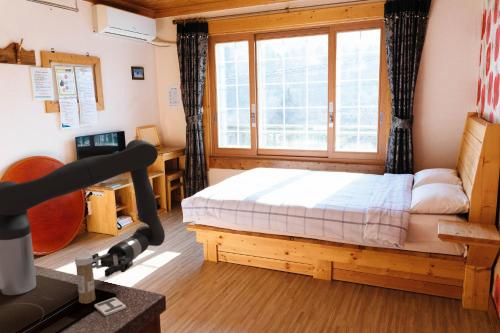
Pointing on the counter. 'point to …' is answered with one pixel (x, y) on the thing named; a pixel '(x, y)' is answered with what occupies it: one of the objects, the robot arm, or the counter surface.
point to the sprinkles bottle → (85, 278)
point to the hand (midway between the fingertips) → (93, 272)
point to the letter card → (110, 306)
